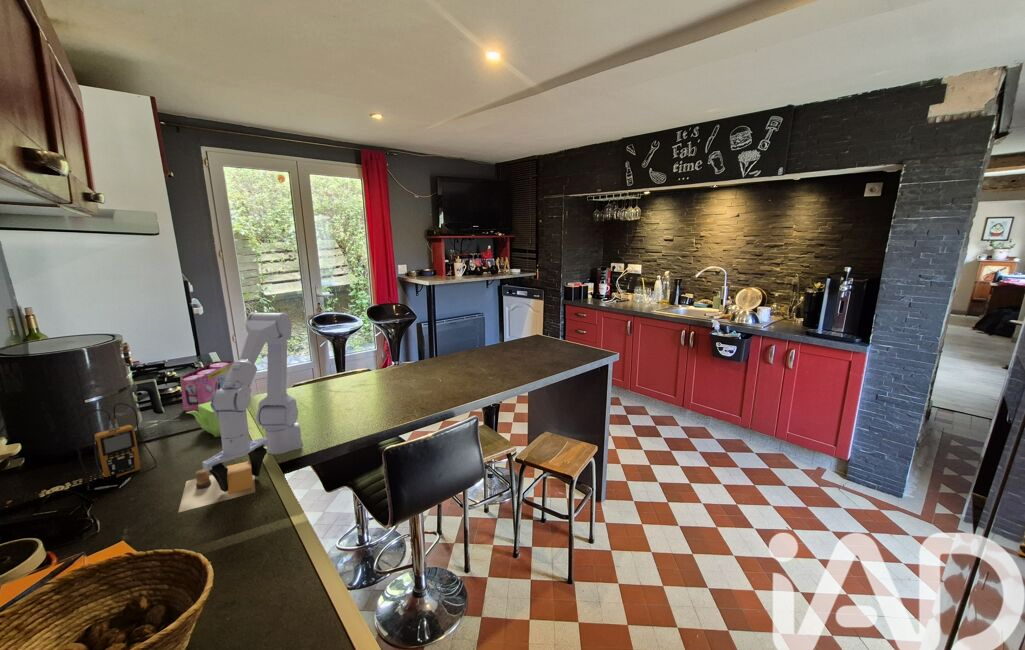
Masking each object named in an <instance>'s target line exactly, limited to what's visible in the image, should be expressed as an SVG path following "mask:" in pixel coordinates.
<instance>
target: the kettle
mask: <svg viewBox="0 0 1025 650" xmlns="http://www.w3.org/2000/svg"><path fill="white" fill-rule="evenodd" d="M210 404H211V402H208V403H204V404H200V405H198V409H199V410H193V411H191V410H189V411H185V414H191V415H192V416H194V417H195V419H196V422H197V423H198V424H200V428H201V429H203V430H204V431H206V433H207V434H211V435H213V438H219V437H221V433H220V424H219V419H218V418H217V417H216V415H215V412H214V411H213V410H212V408H211V405H210Z"/></svg>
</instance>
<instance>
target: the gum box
mask: <svg viewBox="0 0 1025 650" xmlns="http://www.w3.org/2000/svg"><path fill="white" fill-rule="evenodd" d="M234 362H235V360H218V361H214V362H211V363H209V364H207V365H205V366H202V367H200V368H198V369H195V370H193V371H190V372H188V373H186V374H185V375H182V376H180V377H179V378H180V379H179V380H180V389H181V399H182V409H183V412H184V411H185V412H189V411H199V409H198V405H200V404H204V403H208V402H211V399H212V396H213V394H214V393H215V392H216V391H217V390H219V389H221V388H222V386H223V384H224V381H225V379H226V377H227V375H228V372H229V370H230V368H231V366H232V364H233V363H234Z"/></svg>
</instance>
